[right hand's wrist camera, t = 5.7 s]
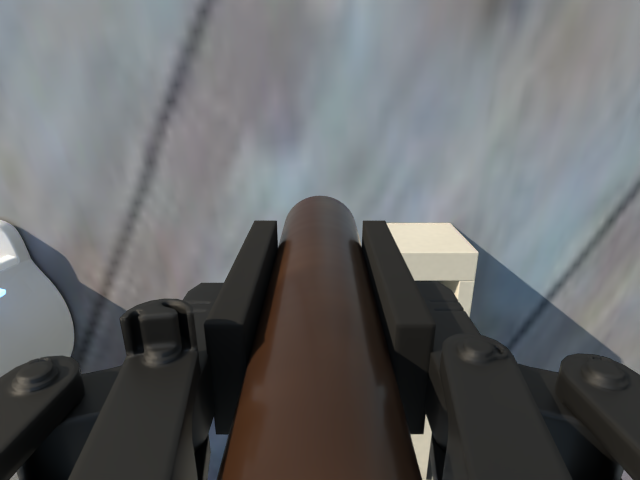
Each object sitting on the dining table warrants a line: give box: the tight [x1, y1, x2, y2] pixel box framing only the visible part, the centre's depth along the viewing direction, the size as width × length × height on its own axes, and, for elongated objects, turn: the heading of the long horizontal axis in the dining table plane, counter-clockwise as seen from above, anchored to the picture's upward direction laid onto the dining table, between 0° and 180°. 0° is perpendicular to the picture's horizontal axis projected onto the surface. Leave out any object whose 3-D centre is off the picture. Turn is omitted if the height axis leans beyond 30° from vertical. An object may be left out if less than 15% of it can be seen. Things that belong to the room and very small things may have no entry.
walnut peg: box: [217, 196, 422, 480], centre depth 10 cm, size 3×3×14 cm
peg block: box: [386, 223, 479, 480], centre depth 33 cm, size 6×24×6 cm, turn 0°
